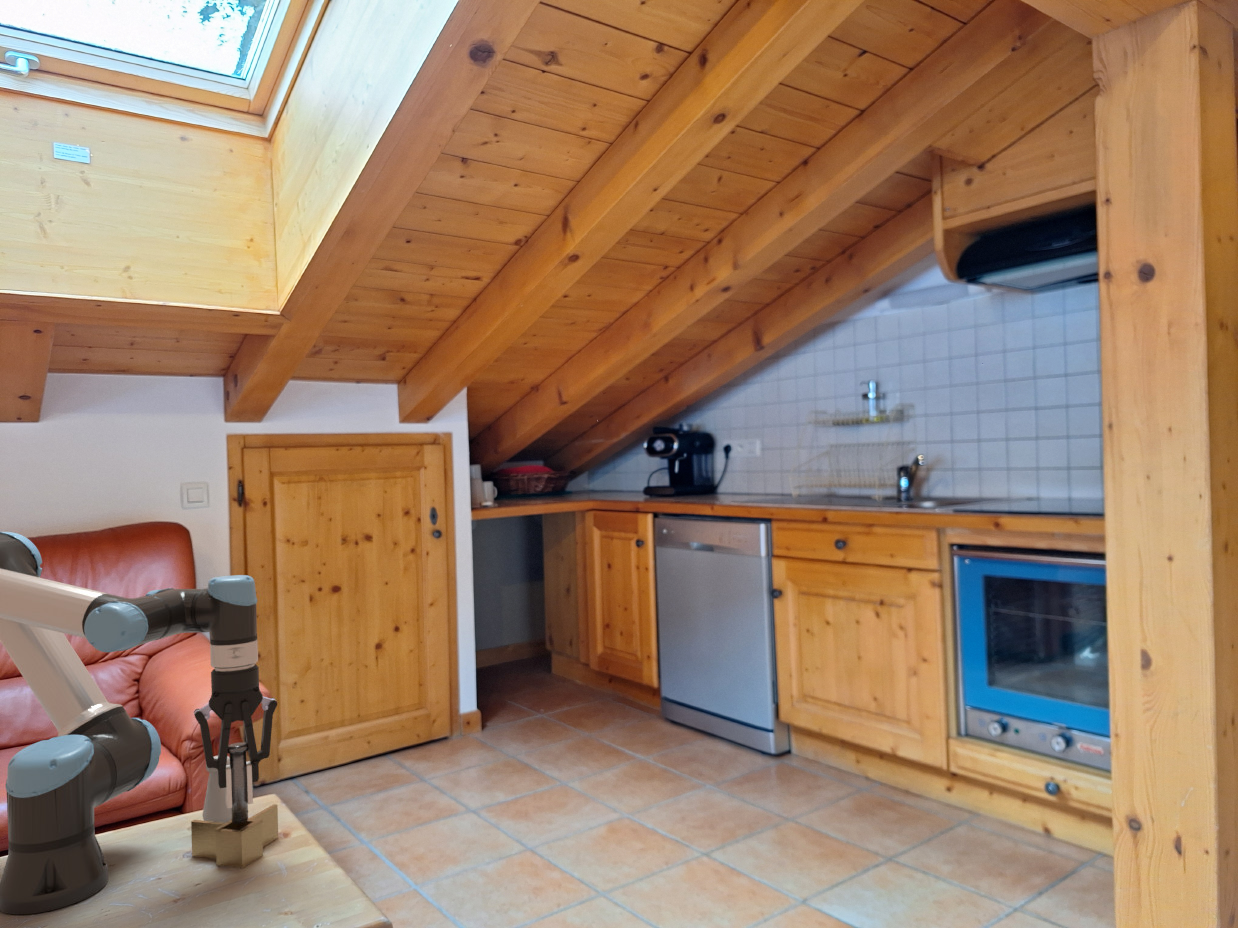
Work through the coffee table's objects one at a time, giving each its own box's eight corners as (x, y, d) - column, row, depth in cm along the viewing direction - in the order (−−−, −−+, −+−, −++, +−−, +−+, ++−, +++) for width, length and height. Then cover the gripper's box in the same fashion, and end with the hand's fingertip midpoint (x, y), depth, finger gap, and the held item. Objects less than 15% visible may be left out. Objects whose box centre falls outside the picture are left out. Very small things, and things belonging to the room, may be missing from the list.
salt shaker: (196, 831, 165) (194, 761, 165) (215, 819, 170) (213, 751, 170) (224, 832, 164) (222, 762, 164) (242, 820, 169) (241, 752, 169)
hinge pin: (229, 825, 149) (227, 750, 149) (227, 819, 152) (225, 744, 152) (252, 821, 151) (250, 746, 151) (250, 814, 154) (247, 740, 154)
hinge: (182, 861, 152) (181, 825, 152) (232, 832, 163) (231, 799, 163) (242, 868, 148) (241, 831, 148) (289, 838, 160) (288, 804, 160)
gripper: (185, 676, 145) (190, 820, 144) (286, 663, 152) (290, 800, 152) (183, 668, 151) (187, 806, 151) (279, 656, 159) (284, 787, 159)
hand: (239, 802), depth 152 cm, fingers closed on hinge pin, 2 cm apart
